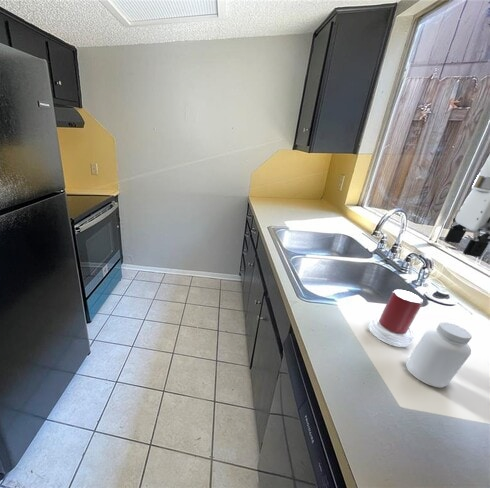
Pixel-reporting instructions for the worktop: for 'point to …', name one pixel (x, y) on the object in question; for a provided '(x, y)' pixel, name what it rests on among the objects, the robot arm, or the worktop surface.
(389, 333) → the coaster
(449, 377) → the pill bottle
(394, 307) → the can
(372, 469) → the worktop surface
